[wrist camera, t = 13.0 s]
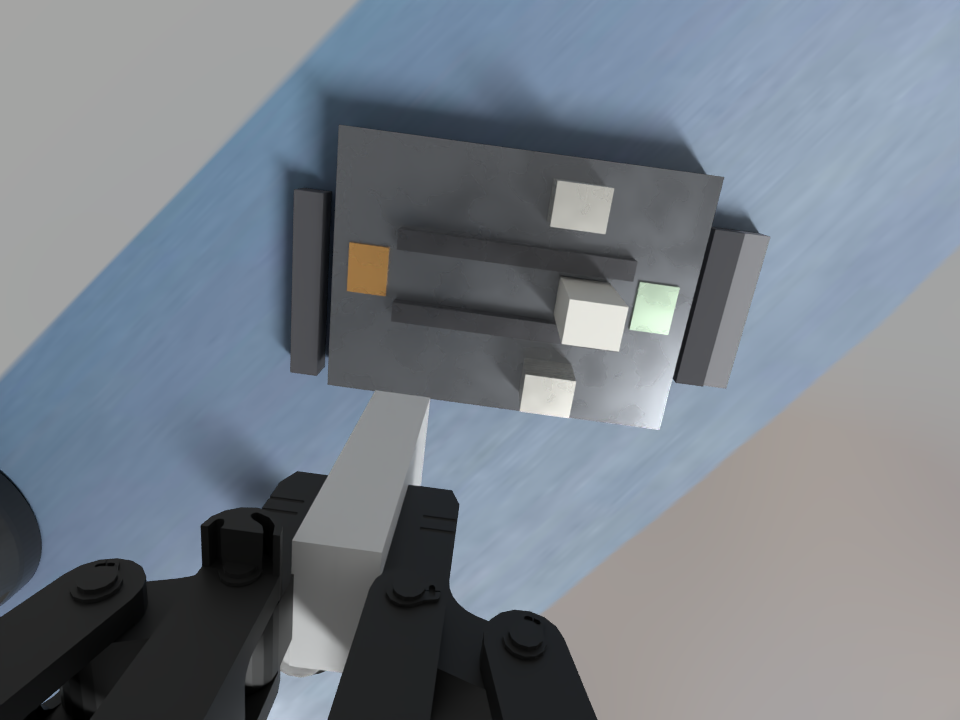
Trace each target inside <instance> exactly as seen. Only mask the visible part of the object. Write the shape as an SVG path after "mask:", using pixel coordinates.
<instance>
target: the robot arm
mask: <svg viewBox="0 0 960 720" xmlns="http://www.w3.org/2000/svg"><path fill="white" fill-rule="evenodd" d="M429 404H430V398H429V397H422V396H414V395H407V394H400V393H392V392H385V391H377V390H375V392H374V394H373V396H372V397H371V399H370V401H369V403H368V405H367V406H366V408H365V410H364V412H363V414H362V415H361V417H360V419H359V421H358V423H357V424H356V426H355V428H354V430H353V432H352V434H351V435H350V437H349V439H348V441H347V443H346V444H345V446H344V448H343V450H342V452H341V453H340V455H339V457H338V459H337V461H336V462H335V464H334V466H333V468H332V470H331V471H330V473H329V475H321V474H314V473H307V472H299V471H297V472H295V473H294V474H292V475H291V476H289V477H287V478H286V479H284V480H283V481H281V482H280V483H279V484H278V486H277V487H276V488H275V490H274V491H273V493H272V494H271V496H270V499H268V500H267V502H266V503H265V504H264V506H263V507H262V509H259V508H242V507H241V508H236V509H231V510H225V511H223V512H221V513H218V514H216V515H214V516H212V517H210V518H209V519H208V520H206V521H205V522H204V523H203V524H202V525H201V546H202V567H201V569H200V570H199V571H198V573H197V574H196V575H194V576H190V577H184V578H178V579H168V580H158V581H148V582H146V575H145V573H144V570H143V568H142V567H141V566H140V565H138V564H137V563H135V562H133V561H130V560H124V559H118V558H115V559H104V560H97V561H94V562H91V563H87V564H84V565H81V566H79V567H77V568H75V569H73V570H71V571H69V572H67V573H65V574H64V575H62V576H61V577H59V578H58V579H56V580H55V581H53V582H52V583H50V584H49V585H48V586H46V587H45V588H43V589H42V590H40V591H39V592H37V593H36V594H34V595H33V596H31V597H30V598H28V599H27V600H25V601H24V602H22V603H21V604H19V605H18V606H16V607H15V608H13V609H12V610H11V611H9V612H8V613H6V614H5V615H3V616H2V617H0V720H266V719H267V717H268V715H269V712H270V710H271V708H272V705H273V703H274V700H275V698H276V696H277V693H278V689H279V683H280V665H281V663H282V661H283V659H284V656H285V654H286V652H287V649H288V647H289V645H290V649H289V666H294V667H302V668H309V669H317V670H324V671H332V672H339V673H342V676H341V679H340V682H339V685H338V689H337V692H336V695H335V698H334V701H333V704H332V707H331V711H330V714H329V717H328V720H597V718H596V715H595V713H594V710H593V708H592V705H591V703H590V701H589V698H588V696H587V693H586V691H585V688H584V686H583V683H582V681H581V679H580V676H579V674H578V671H577V669H576V666H575V664H574V662H573V659H572V657H571V655H570V652H569V649H568V647H567V645H566V642H565V640H564V638H563V636H562V635H561V633H560V632H559V630H558V629H557V627H556V626H555V625H553V624H552V623H551V622H550V621H548V620H547V619H546V618H545V617H542V616H540V615H537V614H535V613H532V612H530V611H521V610H511V611H507V612H502V613H500V614H498V615H497V616H495V617H494V618H492V619H491V620H490V621H487V620H484V619H482V618H479V617H477V616H475V615H473V614H471V613H470V612H468V611H466V610H465V609H464V608H463V607H461V606H460V605H459V604H458V603H457V601H456V600H455V599H454V597H453V596H452V593H451V591H450V587H449V578H450V571H451V563H452V556H453V548H454V541H455V533H456V526H457V518H458V511H459V503H458V501H457V499H456V497H455V495H454V493H453V491H452V490H445V489H438V488H430V487H423V486H421V478H422V469H423V460H424V451H425V441H426V432H427V423H428V414H429ZM41 550H42V543H41V535H40V531H39V527H38V524H37V521H36V519H35V516H34V514H33V512H32V510H31V508H30V507H29V505H28V503H27V502H26V500H25V499H24V497H23V496H22V495H21V494H20V492H19V491H18V490H17V489H16V488H15V486H14V485H13V484H12V483H11V482H10V481H9V480H8V479H7V478H5V477H4V476H3V475H2V474H1V473H0V606H1V605H2V604H4V603H5V602H6V601H8V600H9V599H10V598H11V597H12V596H13V595H14V594H15V593H17V592H18V591H19V590H20V589H21V588H22V587H23V586H24V585H26V584H27V583H28V582H29V580H30V579H31V578H32V577H33V575H34V574H35V572H36V570H37V568H38V565H39V562H40V558H41ZM58 689H60V691H59V692H58V693H57V694H56V695H55V696H53V697H52V698H51V699H49V700H47V701H46V702H44V701H45V700H46V699H47V698H49V697H50V696H51V695H52V694H53V693H54V692H56V691H57V690H58ZM43 702H44V703H43ZM42 703H43V704H42Z"/></svg>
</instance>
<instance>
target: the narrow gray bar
mask: <svg viewBox="0 0 960 720" xmlns="http://www.w3.org/2000/svg"><path fill="white" fill-rule="evenodd" d="M769 240H770V237H769V236H766V235H763V234H760V233H753V232H745V231H738V230H731V229H723V228H716V227H711V231H710V235H709V238H708V242H707V246H706V250H705V254H704V258H703V262H702V266H701V270H700V274H699V277H698V281H697V285H696V289H695V293H694V297H693V301H692V305H691V309H690V312H689V316H688V320H687V324H686V328H685V332H684V336H683V340H682V344H681V348H680V351H679V355H678V359H677V363H676V367H675V371H674V375H673V379H674V381H675V382H676V383H681V384H689V385H696V386H711V387H718V388H725V389H726V387H727V384H728V380H729V377H730V373H731V370H732V367H733V363H734V360H735V356H736V353H737V349H738V346H739V343H740V339H741V336H742V332H743V329H744V325H745V322H746V319H747V315H748V312H749V308H750V305H751V301H752V298H753V295H754V291H755V288H756V284H757V281H758V277H759V274H760V271H761V267H762V264H763V260H764V257H765V253H766V250H767V247H768V243H769Z"/></svg>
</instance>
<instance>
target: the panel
mask: <svg viewBox="0 0 960 720" xmlns="http://www.w3.org/2000/svg"><path fill="white" fill-rule="evenodd" d="M723 180H724V177H720V176H713V175H705V174H698V173H691V172H683V171H676V170H669V169H661V168H654V167H647V166H639V165H632V164H624V163H617V162H610V161H602V160H595V159H588V158H580V157H573V156H566V155H558V154H551V153H544V152H536V151H529V150H521V149H514V148H507V147H499V146H492V145H485V144H477V143H470V142H463V141H455V140H448V139H441V138H433V137H426V136H418V135H411V134H404V133H396V132H389V131H382V130H374V129H367V128H360V127H352V126H345V125H339V132H338V155H337V178H336V201H335V224H334V247H333V270H332V293H331V316H330V339H329V362H328V385H334V386H342V387H349V388H356V389H363V390H371V391H375V390H377V391H385V392H392V393H400V394H407V395H414V396H422V397H429V398H430V399H436V400H444V401H451V402H458V403H465V404H473V405H480V406H487V407H495V408H502V409H509V410H516V411H520V412H527V413H535V414H542V415H549V416H557V417H564V418H575V419H582V420H589V421H597V422H604V423H611V424H619V425H626V426H633V427H640V428H648V429H655V430H659V429H660V426H661V422H662V418H663V414H664V410H665V406H666V402H667V398H668V394H669V390H670V387H671V383H672V379H673V375H674V371H675V367H676V363H677V359H678V355H679V351H680V348H681V344H682V340H683V336H684V332H685V328H686V324H687V320H688V316H689V312H690V309H691V305H692V301H693V297H694V293H695V289H696V285H697V281H698V277H699V274H700V270H701V266H702V262H703V258H704V254H705V250H706V246H707V242H708V238H709V235H710V231H711V227H712V223H713V219H714V215H715V211H716V207H717V203H718V199H719V196H720V192H721V188H722V184H723ZM560 276H564V277H571V278H579V279H586V280H593V281H601V282H608V283H610V284H611V285H612V286H613V288H614V289H615V290H616V292H617V293H618V294H619V295H620V297H621V298H622V299H623V301H624V302H625V303H626V305H627V306H628V307H629V308H628V312H627V317H626V321H625V326H624V331H623V335H622V340H621V344H620V349H619V352H617V351H610V350H602V349H595V348H588V347H580V346H573V345H566V344H562V343H561V340H560V336H559V332H558V329H557V325H556V321H555V318H554V309H555V303H556V297H557V292H558V286H559V280H560Z"/></svg>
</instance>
